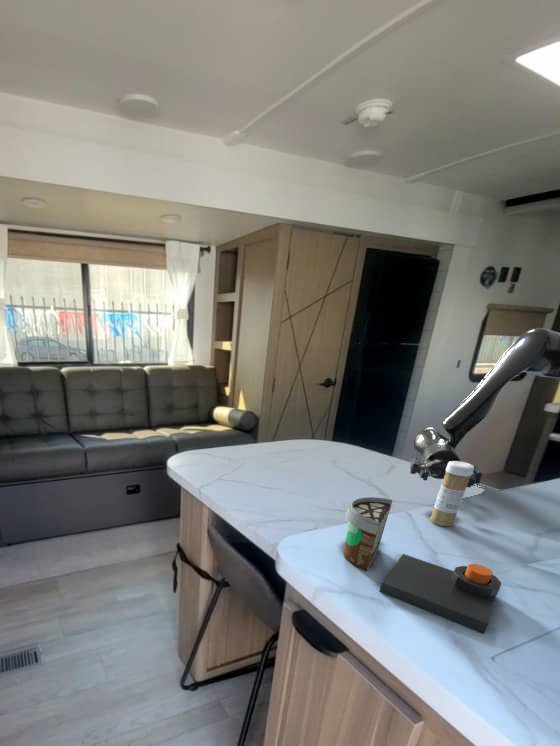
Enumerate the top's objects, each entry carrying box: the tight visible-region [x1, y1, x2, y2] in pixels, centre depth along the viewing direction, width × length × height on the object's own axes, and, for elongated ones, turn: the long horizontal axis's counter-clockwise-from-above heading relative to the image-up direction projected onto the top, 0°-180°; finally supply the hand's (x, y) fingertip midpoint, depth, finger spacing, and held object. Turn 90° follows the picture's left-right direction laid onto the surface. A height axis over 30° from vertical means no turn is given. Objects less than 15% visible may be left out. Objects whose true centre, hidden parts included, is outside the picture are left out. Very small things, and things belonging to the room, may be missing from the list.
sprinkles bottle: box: [429, 461, 475, 527], centre depth 85 cm, size 5×5×13 cm
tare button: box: [465, 563, 494, 584], centre depth 63 cm, size 3×3×2 cm
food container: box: [343, 496, 393, 572], centre depth 73 cm, size 12×6×10 cm, turn 145°
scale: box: [378, 553, 502, 635], centre depth 64 cm, size 14×12×4 cm
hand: (447, 479), depth 91 cm, fingers open, 8 cm apart
